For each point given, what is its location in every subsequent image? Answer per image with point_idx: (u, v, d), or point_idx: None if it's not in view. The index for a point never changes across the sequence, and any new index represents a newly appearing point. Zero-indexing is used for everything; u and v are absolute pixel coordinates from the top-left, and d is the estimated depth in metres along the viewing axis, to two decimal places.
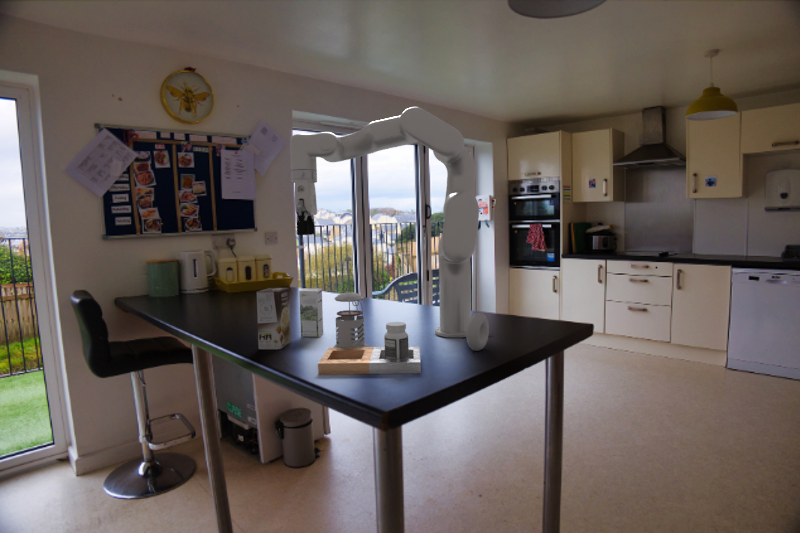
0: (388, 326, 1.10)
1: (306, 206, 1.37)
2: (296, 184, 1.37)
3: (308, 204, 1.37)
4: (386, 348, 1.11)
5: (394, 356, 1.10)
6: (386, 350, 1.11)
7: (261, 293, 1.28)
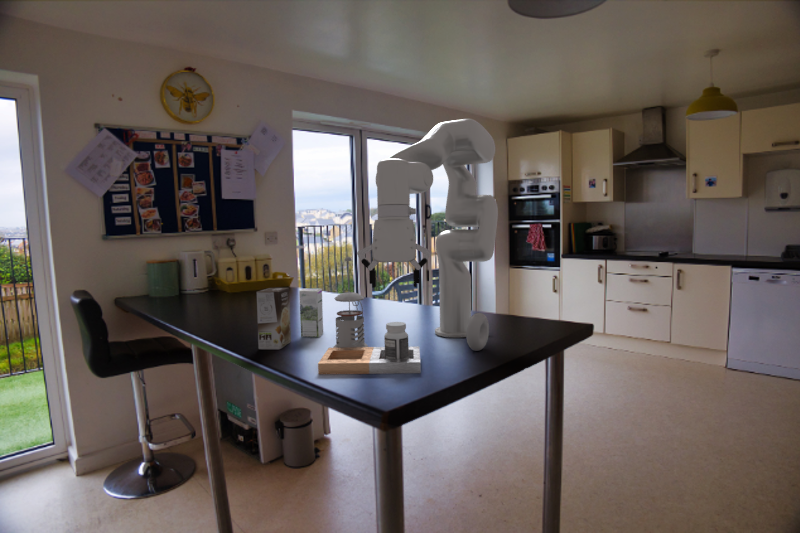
0: (388, 326, 1.10)
1: None
2: (412, 224, 1.08)
3: None
4: (386, 348, 1.11)
5: (394, 356, 1.10)
6: (386, 350, 1.11)
7: (261, 293, 1.28)
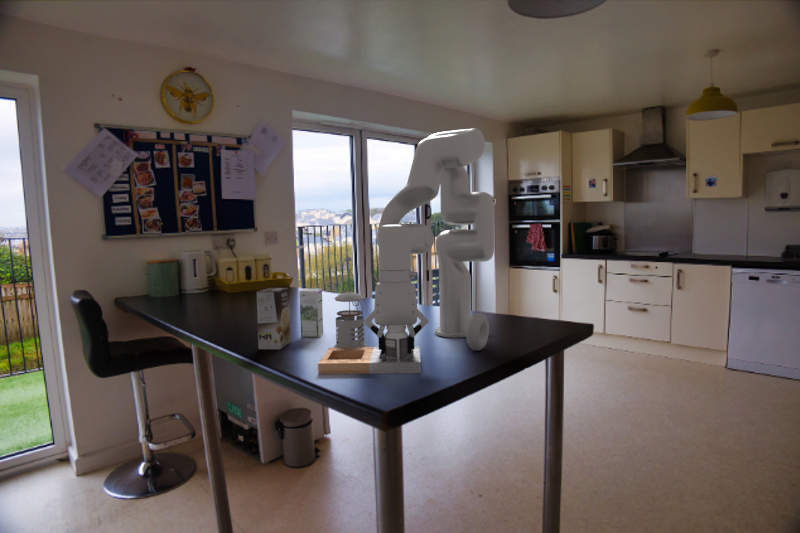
0: (388, 326, 1.10)
1: None
2: (413, 288, 1.10)
3: None
4: (386, 348, 1.11)
5: (394, 356, 1.10)
6: (386, 350, 1.11)
7: (261, 293, 1.28)
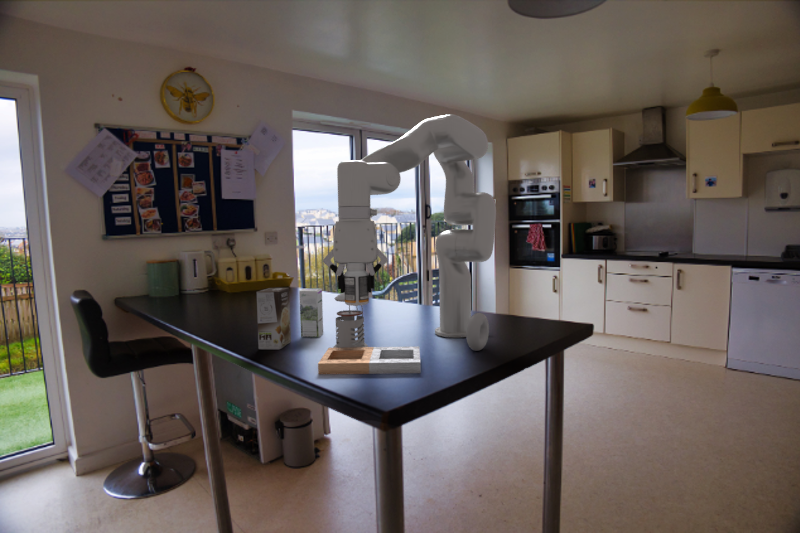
0: (347, 264, 1.09)
1: (375, 257, 1.12)
2: (372, 225, 1.09)
3: None
4: (345, 286, 1.10)
5: (353, 294, 1.09)
6: (345, 288, 1.10)
7: (261, 293, 1.28)
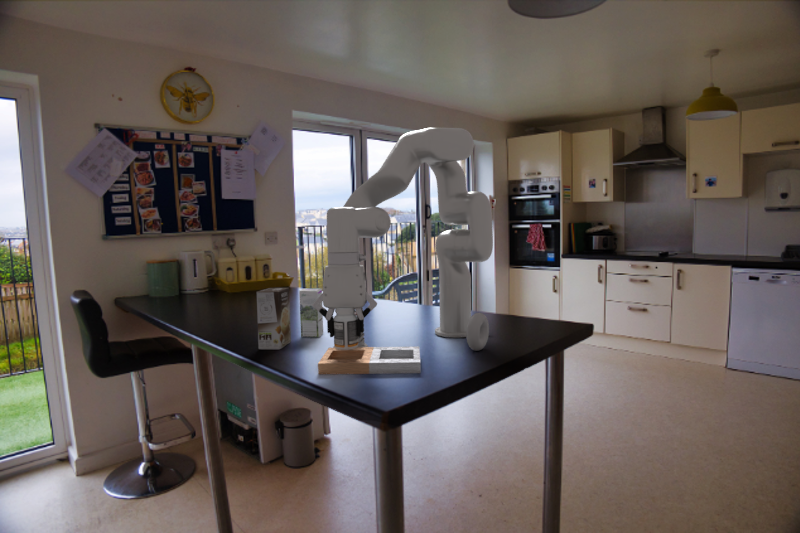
0: (336, 309, 1.10)
1: (365, 300, 1.13)
2: (361, 270, 1.10)
3: None
4: (334, 331, 1.11)
5: (341, 338, 1.10)
6: (335, 333, 1.11)
7: (261, 293, 1.28)
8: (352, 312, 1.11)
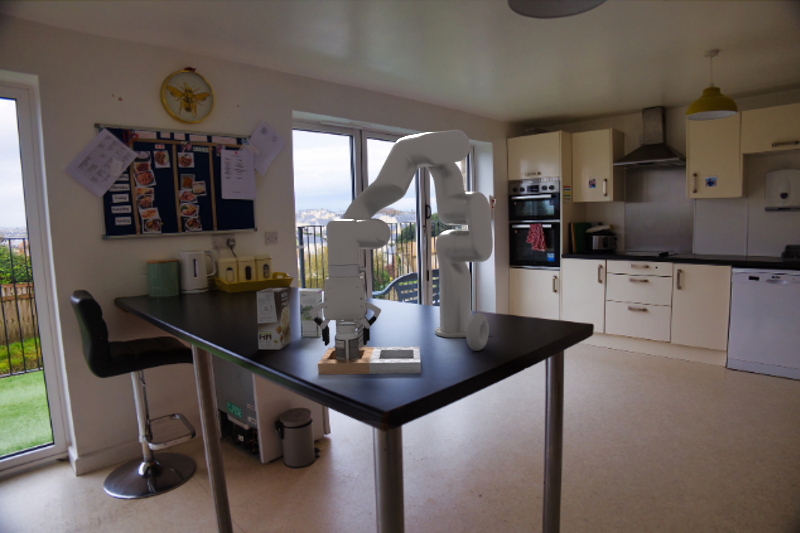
0: (338, 327, 1.11)
1: None
2: (362, 282, 1.10)
3: None
4: (336, 348, 1.11)
5: (343, 356, 1.10)
6: (336, 350, 1.11)
7: (261, 293, 1.28)
8: (353, 330, 1.11)
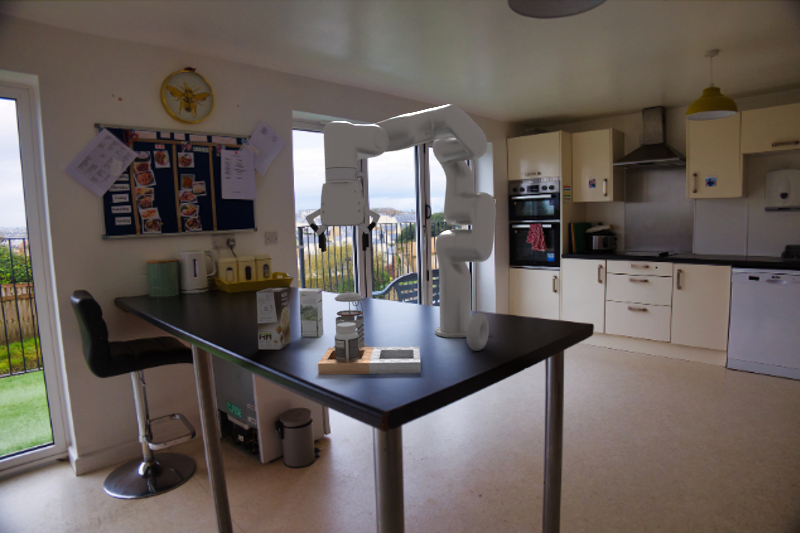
0: (338, 327, 1.11)
1: None
2: (359, 187, 1.08)
3: None
4: (336, 348, 1.11)
5: (343, 356, 1.10)
6: (336, 350, 1.11)
7: (261, 293, 1.28)
8: (353, 330, 1.11)
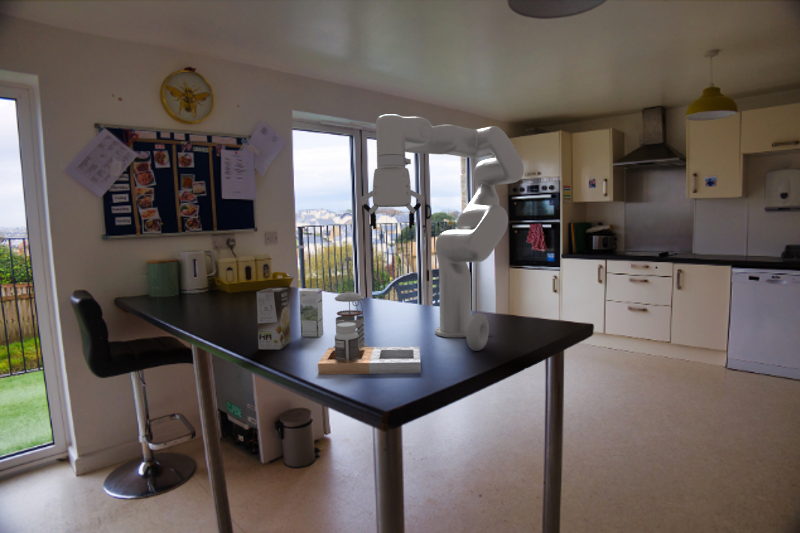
0: (338, 327, 1.11)
1: None
2: (407, 172, 1.23)
3: None
4: (336, 349, 1.11)
5: (343, 356, 1.10)
6: (336, 351, 1.11)
7: (261, 293, 1.28)
8: (353, 330, 1.11)
